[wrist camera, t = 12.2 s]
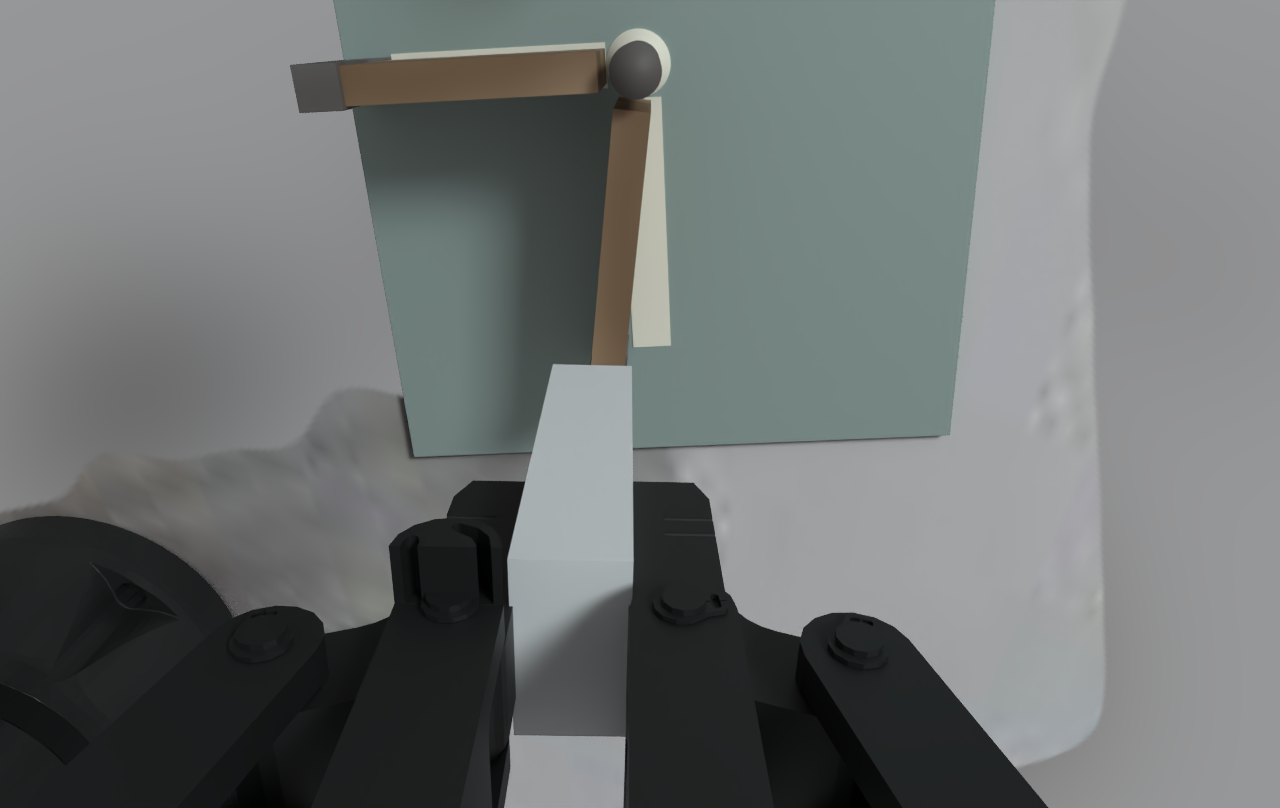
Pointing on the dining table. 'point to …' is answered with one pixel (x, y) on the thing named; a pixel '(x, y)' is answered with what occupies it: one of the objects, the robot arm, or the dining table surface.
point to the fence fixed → (474, 77)
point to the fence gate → (620, 230)
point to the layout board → (684, 216)
